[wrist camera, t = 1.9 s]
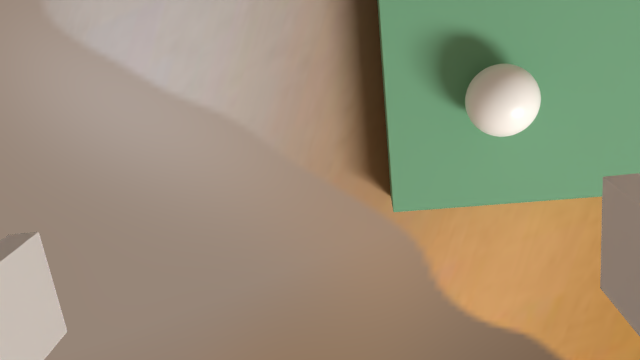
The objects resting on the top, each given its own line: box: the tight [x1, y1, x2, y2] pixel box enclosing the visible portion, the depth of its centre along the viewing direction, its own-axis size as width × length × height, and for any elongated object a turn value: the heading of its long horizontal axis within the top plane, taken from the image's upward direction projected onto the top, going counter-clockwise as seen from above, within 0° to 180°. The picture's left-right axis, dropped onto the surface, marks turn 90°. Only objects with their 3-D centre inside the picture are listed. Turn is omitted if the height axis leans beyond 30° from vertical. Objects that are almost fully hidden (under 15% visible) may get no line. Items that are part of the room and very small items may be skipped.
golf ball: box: [465, 64, 541, 137], centre depth 29 cm, size 4×4×4 cm
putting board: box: [377, 0, 640, 212], centre depth 30 cm, size 12×22×6 cm, turn 96°
